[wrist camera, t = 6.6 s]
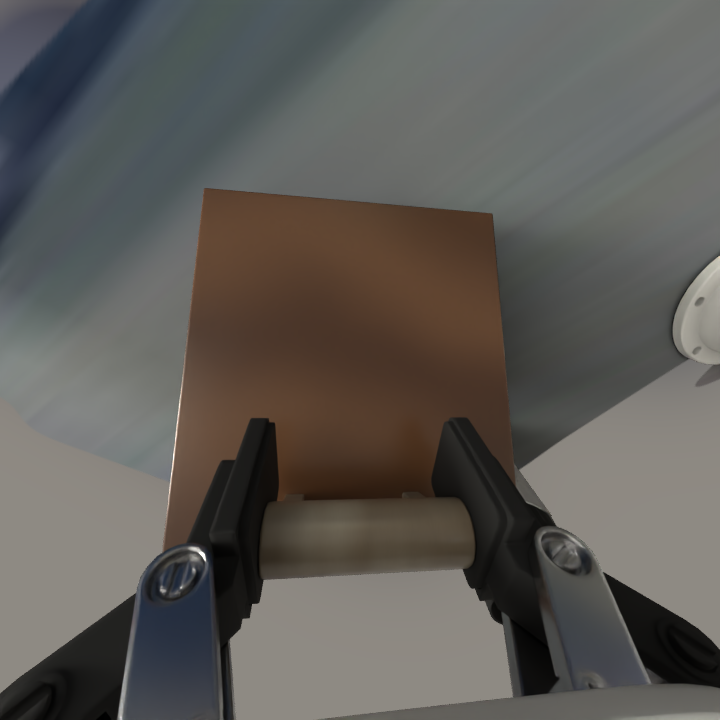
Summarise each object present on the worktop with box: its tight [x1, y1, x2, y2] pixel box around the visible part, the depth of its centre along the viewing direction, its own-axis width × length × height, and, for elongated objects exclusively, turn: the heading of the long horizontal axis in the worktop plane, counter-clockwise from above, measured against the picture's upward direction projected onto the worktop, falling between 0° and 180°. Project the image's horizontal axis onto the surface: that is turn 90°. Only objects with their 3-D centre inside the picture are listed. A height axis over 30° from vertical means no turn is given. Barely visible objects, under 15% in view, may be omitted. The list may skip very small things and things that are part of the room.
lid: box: [162, 188, 516, 580], centre depth 11 cm, size 16×14×5 cm
